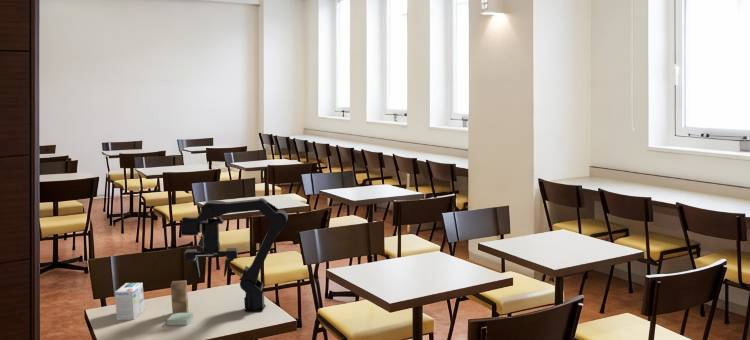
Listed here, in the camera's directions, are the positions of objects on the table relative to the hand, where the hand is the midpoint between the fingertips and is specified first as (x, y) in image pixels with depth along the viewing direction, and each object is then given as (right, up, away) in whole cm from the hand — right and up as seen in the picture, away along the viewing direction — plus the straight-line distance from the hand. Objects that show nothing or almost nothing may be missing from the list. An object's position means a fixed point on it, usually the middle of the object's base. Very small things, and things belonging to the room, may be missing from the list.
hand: (211, 276), depth 254 cm
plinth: (-9, -15, -8) cm, 19 cm away
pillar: (-11, -14, -1) cm, 18 cm away
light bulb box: (-30, -14, 0) cm, 33 cm away
